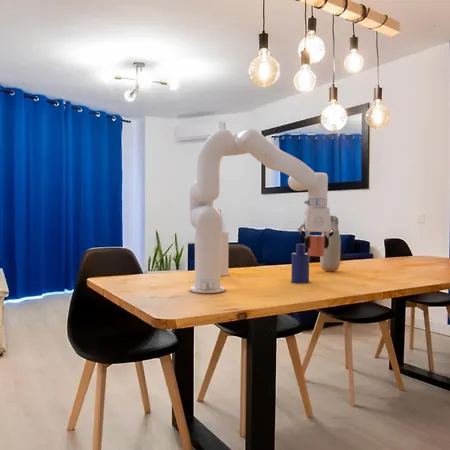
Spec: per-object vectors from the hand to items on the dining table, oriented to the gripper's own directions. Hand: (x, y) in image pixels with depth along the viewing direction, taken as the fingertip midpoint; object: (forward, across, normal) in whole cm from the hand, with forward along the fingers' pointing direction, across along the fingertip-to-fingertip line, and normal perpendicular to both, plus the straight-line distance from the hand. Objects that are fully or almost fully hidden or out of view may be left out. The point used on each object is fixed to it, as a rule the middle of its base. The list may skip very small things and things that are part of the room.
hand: (316, 247), depth 176 cm
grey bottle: (+15, +18, +43) cm, 49 cm away
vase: (+16, -38, +33) cm, 53 cm away
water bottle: (+15, -4, +9) cm, 18 cm away
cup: (+3, 0, 0) cm, 3 cm away
